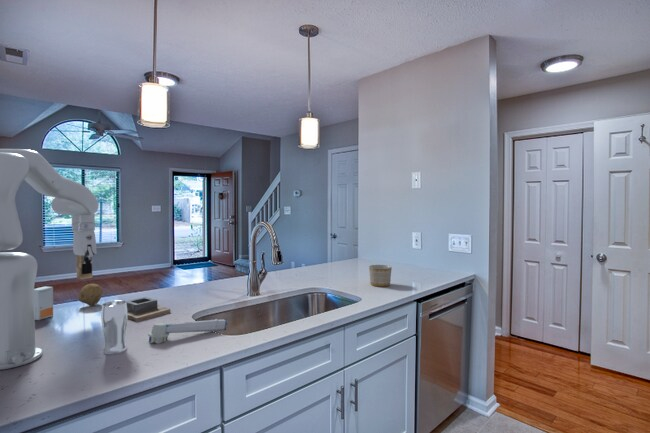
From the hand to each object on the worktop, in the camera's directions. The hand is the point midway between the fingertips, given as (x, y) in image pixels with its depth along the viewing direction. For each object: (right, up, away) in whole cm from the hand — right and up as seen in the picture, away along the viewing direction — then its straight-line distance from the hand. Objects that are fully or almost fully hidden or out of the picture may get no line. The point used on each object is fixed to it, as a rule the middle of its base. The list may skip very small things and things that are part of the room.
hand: (84, 272), depth 137 cm
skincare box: (-17, -18, +1) cm, 25 cm away
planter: (+128, -17, +57) cm, 141 cm away
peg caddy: (+19, -18, +7) cm, 27 cm away
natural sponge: (-9, -18, +17) cm, 26 cm away
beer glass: (+31, -20, -30) cm, 47 cm away
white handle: (+49, -19, -18) cm, 56 cm away
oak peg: (0, -2, 0) cm, 2 cm away
